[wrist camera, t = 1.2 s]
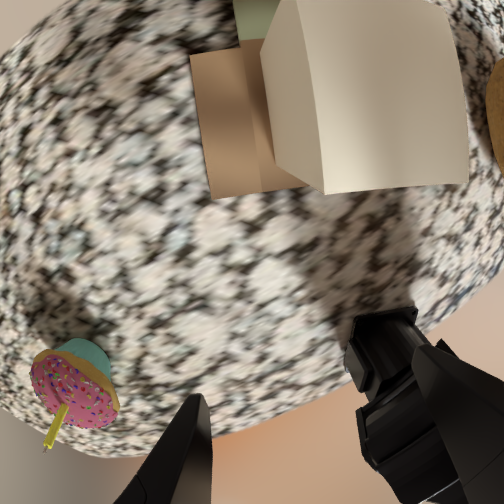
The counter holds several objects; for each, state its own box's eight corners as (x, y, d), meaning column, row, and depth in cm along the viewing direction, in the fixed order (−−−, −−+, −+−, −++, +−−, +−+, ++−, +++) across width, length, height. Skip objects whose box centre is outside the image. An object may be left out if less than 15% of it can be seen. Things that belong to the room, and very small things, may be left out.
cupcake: (55, 305, 20) (-15, 405, 9) (141, 349, 22) (106, 473, 11) (50, 362, 22) (5, 449, 11) (120, 398, 24) (95, 496, 13)
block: (368, 157, 16) (468, 182, 8) (275, 165, 16) (324, 194, 8) (354, 52, 14) (444, 8, 5) (259, 53, 13) (290, -23, 5)
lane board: (429, 173, 18) (454, 180, 15) (213, 196, 18) (209, 207, 15) (400, -7, 12) (420, -20, 9) (182, -14, 12) (176, -35, 9)
